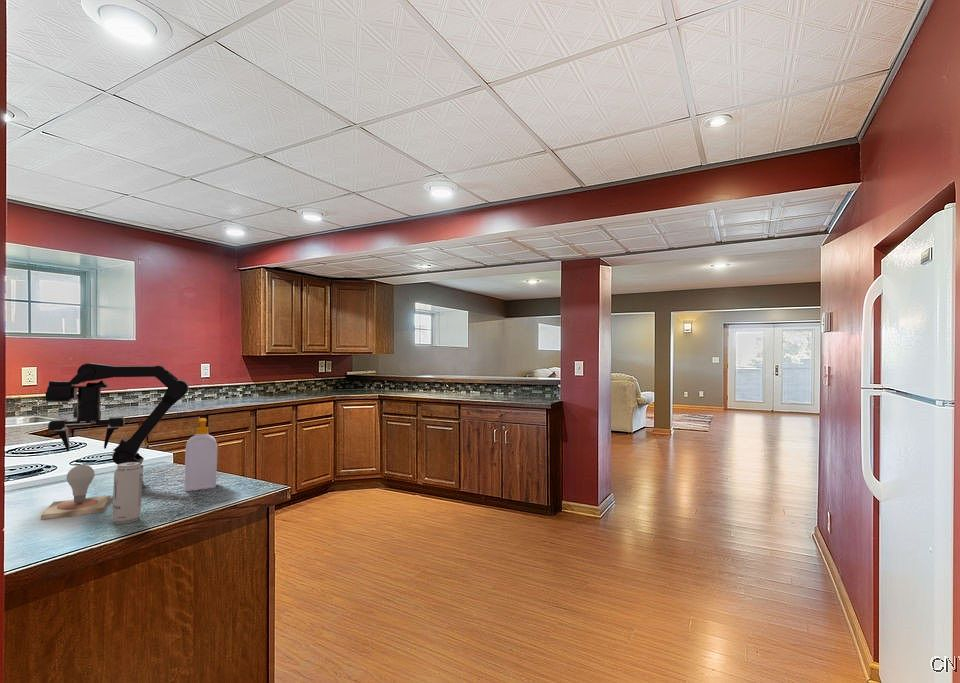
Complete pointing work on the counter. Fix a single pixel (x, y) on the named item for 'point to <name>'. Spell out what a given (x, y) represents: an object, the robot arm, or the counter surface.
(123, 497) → the energy drink can
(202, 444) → the soap bottle
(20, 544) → the counter surface
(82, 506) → the birch board
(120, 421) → the robot arm
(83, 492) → the lightbulb
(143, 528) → the counter surface
